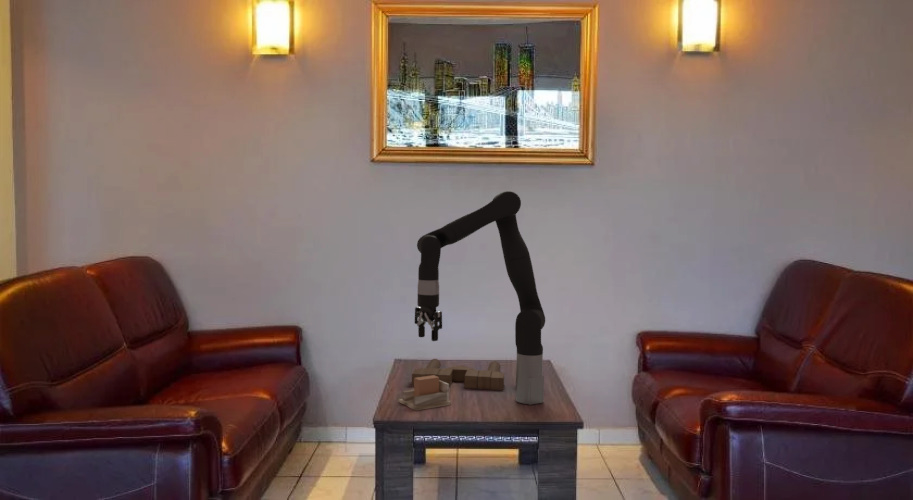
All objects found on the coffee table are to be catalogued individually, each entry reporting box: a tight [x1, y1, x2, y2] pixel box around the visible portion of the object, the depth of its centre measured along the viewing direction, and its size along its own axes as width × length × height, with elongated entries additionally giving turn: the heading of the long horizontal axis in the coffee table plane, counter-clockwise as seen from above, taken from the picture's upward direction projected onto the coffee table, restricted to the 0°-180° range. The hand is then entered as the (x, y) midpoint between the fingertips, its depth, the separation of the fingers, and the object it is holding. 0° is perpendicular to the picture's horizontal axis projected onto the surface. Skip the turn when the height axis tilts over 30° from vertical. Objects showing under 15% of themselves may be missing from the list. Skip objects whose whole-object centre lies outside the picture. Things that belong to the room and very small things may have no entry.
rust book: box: [413, 375, 439, 396], centre depth 241 cm, size 4×8×8 cm, turn 124°
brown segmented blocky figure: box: [411, 358, 505, 391], centre depth 277 cm, size 35×6×29 cm
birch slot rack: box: [398, 380, 452, 411], centre depth 241 cm, size 12×14×7 cm
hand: (428, 338), depth 241 cm, fingers open, 8 cm apart
